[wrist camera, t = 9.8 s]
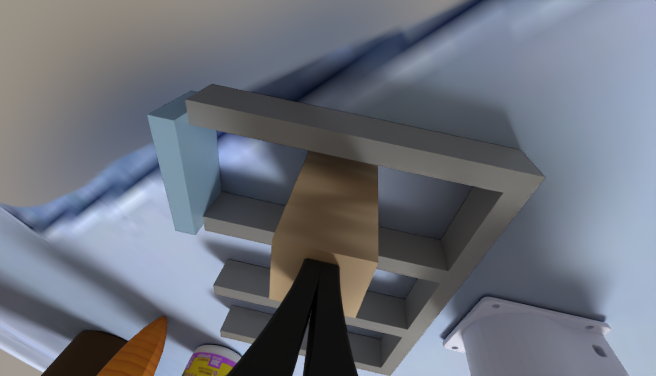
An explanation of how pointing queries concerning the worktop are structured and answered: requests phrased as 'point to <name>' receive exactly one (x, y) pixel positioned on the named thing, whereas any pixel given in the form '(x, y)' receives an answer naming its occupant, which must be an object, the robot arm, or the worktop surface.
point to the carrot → (139, 352)
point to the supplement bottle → (211, 361)
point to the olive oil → (85, 355)
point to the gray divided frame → (393, 246)
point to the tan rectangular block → (329, 226)
